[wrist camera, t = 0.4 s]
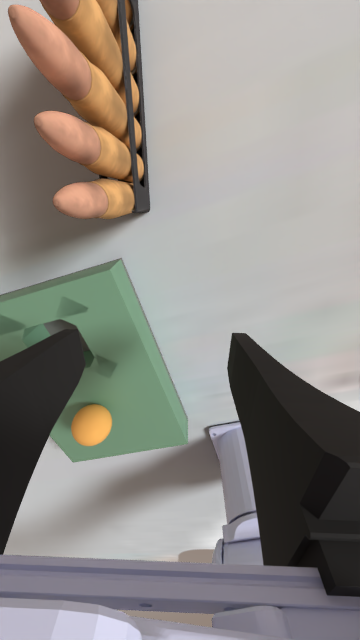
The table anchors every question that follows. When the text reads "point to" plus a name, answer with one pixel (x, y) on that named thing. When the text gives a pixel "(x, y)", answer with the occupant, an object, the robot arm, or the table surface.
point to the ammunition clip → (92, 99)
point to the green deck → (101, 358)
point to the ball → (91, 425)
